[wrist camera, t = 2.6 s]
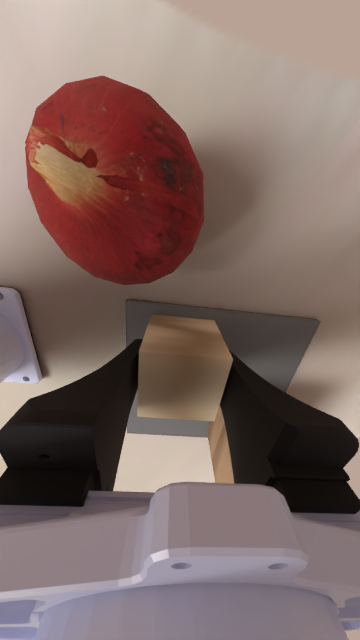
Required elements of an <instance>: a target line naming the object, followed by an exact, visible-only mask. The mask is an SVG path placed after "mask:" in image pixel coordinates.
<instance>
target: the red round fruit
mask: <svg viewBox="0 0 360 640" xmlns="http://www.w3.org/2000/svg"><path fill="white" fill-rule="evenodd" d="M25 143H26V147H25V151H26V164H27V178H28V188H29V190H30V193H31V196H32V199H33V201H34V204H35V207H36V210H37V212H38V215H39V218H40V221H41V223H42V224H43V226H44V227H45V228H46V230H47V231H48V232H49V233H50V235H51V236H52V237H53V239H54V240H55V241H56V243H57V244H58V245H59V247H60V248H61V249H62V251H63V252H64V253H65V255H66V256H67V257H68V258H70V259H71V260H72V261H74V262H75V263H77V264H78V265H79V266H81V267H82V268H83V269H85V270H86V271H87V272H89V273H90V274H91V275H93V276H95V277H98V278H102V279H105V280H108V281H112V282H115V283H118V284H123V285H131V284H143V283H150V282H153V281H155V280H157V279H159V278H161V277H164V276H166V275H168V274H170V273H172V272H174V270H175V269H176V268H177V267H178V266H179V265H180V264H181V263H182V262H183V261H184V259H185V258H186V257H187V256H188V255H189V254H190V253H191V252H192V249H193V247H194V244H195V242H196V239H197V237H198V234H199V231H200V229H201V226H202V224H203V221H204V210H203V173H202V171H201V168H200V166H199V164H198V161H197V159H196V157H195V154H194V152H193V150H192V147H191V145H190V143H189V140H188V138H187V136H186V133H185V132H184V131H183V130H182V128H181V127H180V126H179V125H178V124H177V123H176V122H175V121H174V120H173V119H172V118H171V117H170V116H169V115H168V114H167V113H166V111H165V110H164V109H163V108H162V107H161V106H160V105H159V104H158V103H157V102H156V101H155V100H154V99H153V98H152V97H151V96H150V95H149V94H147V93H145V92H143V91H141V90H139V89H136V88H134V87H131V86H129V85H126V84H123V83H121V82H118V81H115V80H113V79H110V78H108V77H105V76H99V77H94V78H89V79H84V80H80V81H75V82H70V83H66V84H65V85H63V86H62V87H61V88H60V89H59V90H57V91H56V92H55V93H54V94H53V95H51V96H50V97H49V98H48V99H47V100H45V101H44V102H43V103H42V104H41V105H40V106H38V107H37V108H36V111H35V115H34V118H33V122H32V125H31V127H30V130H29V133H28V136H27V139H26V141H25Z"/></svg>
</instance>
